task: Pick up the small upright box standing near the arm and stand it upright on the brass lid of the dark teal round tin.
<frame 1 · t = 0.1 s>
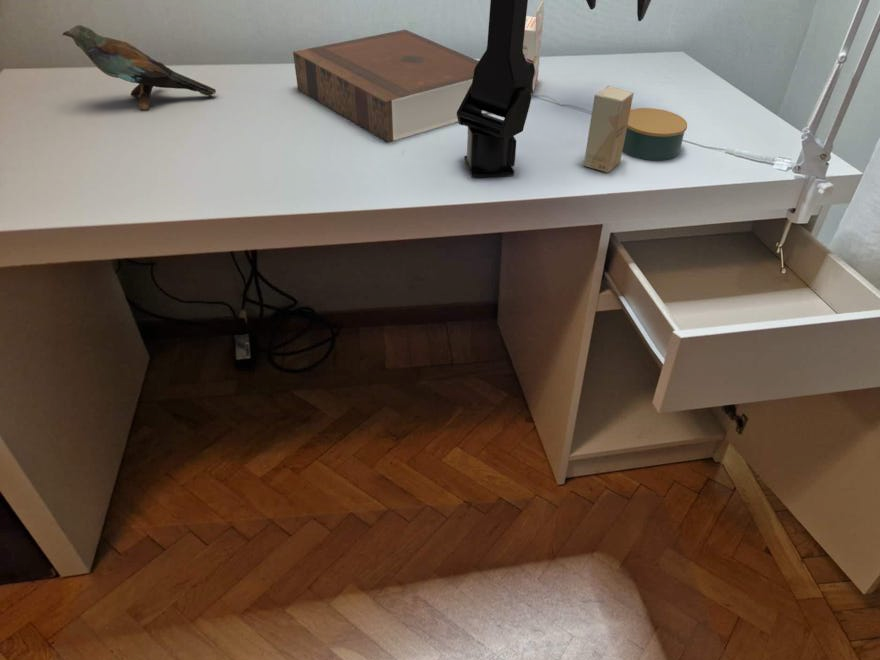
hand: (616, 14, 116), 15 cm above the table, tool pointing down, fingers open, 9 cm apart
tin: (648, 147, 113), on the table
book: (397, 100, 124), on the table
ink cartridge box: (521, 89, 131), on the table
bird figurine: (152, 100, 119), on the table
box: (601, 165, 107), on the table
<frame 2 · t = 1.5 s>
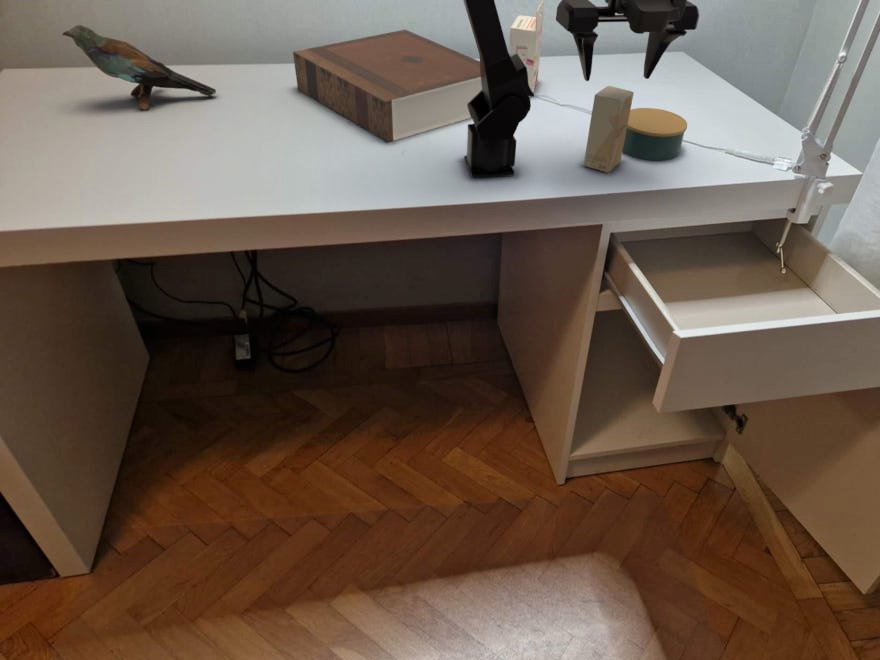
hand: (616, 79, 99), 13 cm above the table, tool pointing down, fingers open, 9 cm apart
nothing on the table moved.
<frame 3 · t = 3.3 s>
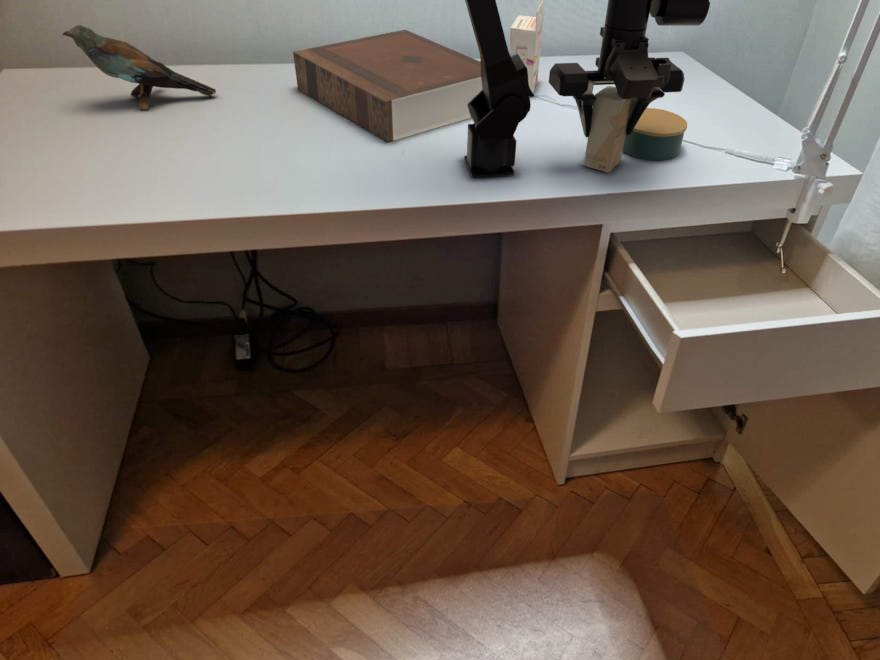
hand: (606, 135, 104), 5 cm above the table, tool pointing down, fingers closed on box, 6 cm apart
box: (601, 165, 107), on the table, touching gripper
everything else where it was.
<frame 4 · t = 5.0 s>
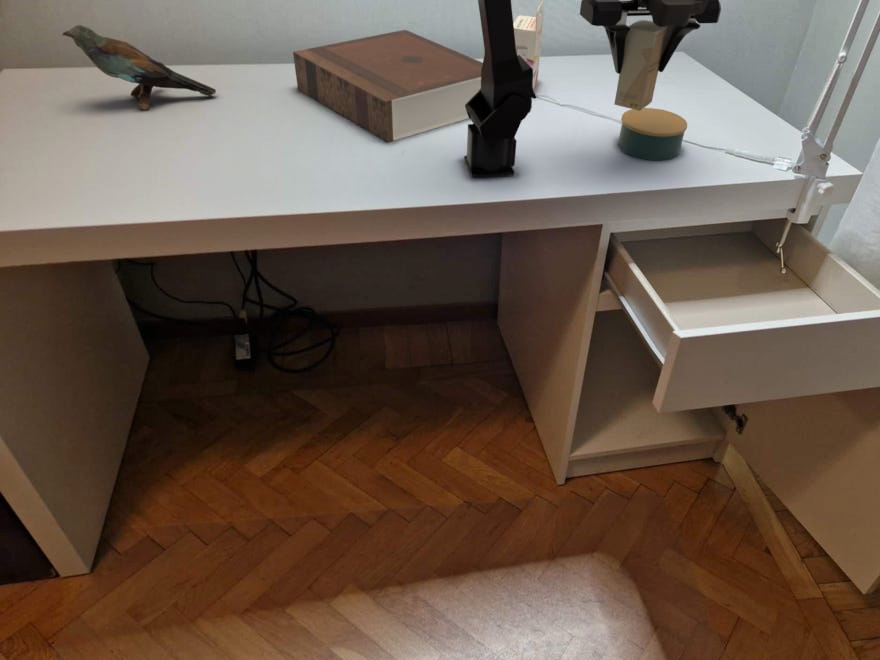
hand: (638, 72, 101), 13 cm above the table, tool pointing down, fingers closed on box, 6 cm apart
box: (632, 104, 104), point 8 cm above the table, touching gripper
everything else where it was.
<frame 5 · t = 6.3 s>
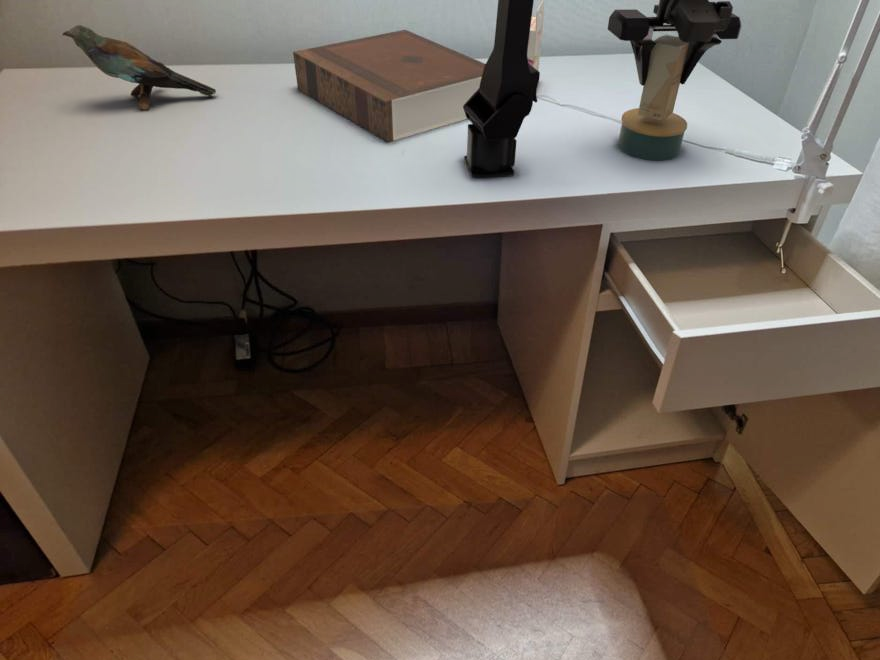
hand: (661, 84, 106), 10 cm above the table, tool pointing down, fingers closed on box, 6 cm apart
box: (655, 114, 109), point 5 cm above the table, touching gripper
everything else where it was.
when the fingers open (9 cm above the table, at t = 7.2 s): box stays where it is, resting on tin.
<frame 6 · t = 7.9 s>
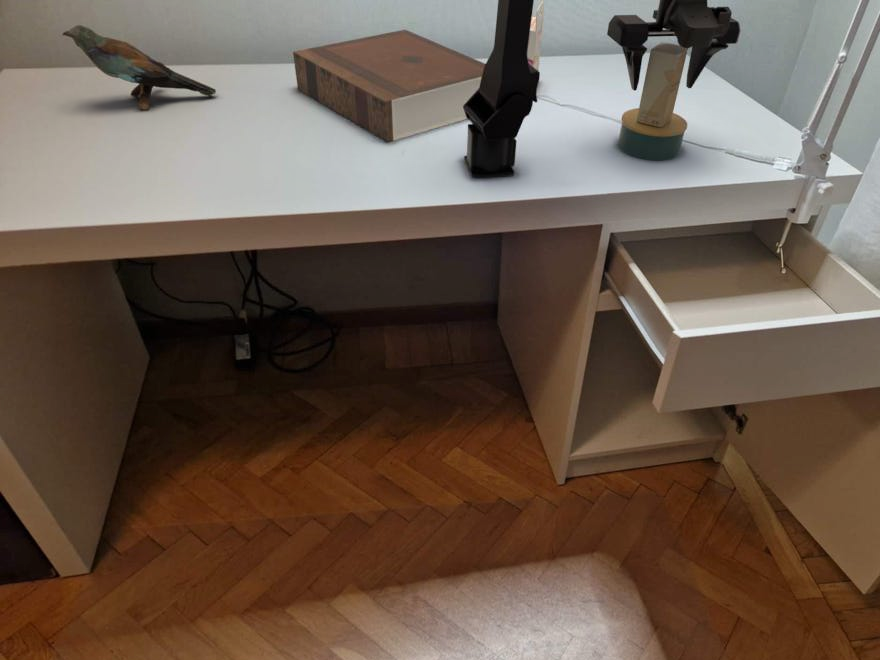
hand: (661, 88, 107), 10 cm above the table, tool pointing down, fingers open, 9 cm apart
tin: (648, 147, 113), on the table, touching box
box: (653, 121, 110), point 4 cm above the table, touching tin
everything else where it was.
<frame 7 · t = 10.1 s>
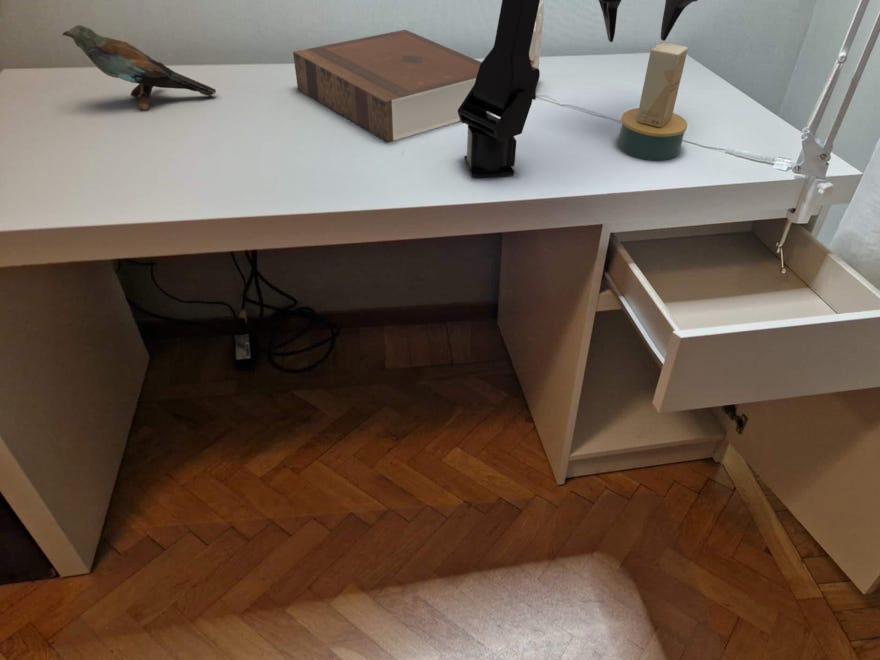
hand: (636, 40, 113), 13 cm above the table, tool pointing down, fingers open, 9 cm apart
nothing on the table moved.
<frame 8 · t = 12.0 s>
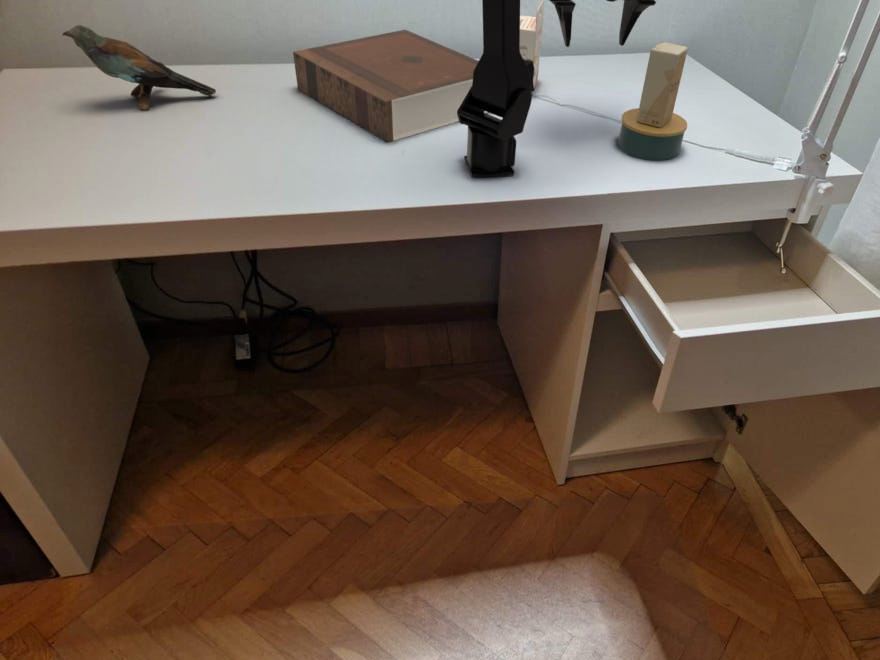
hand: (594, 45, 110), 13 cm above the table, tool pointing down, fingers open, 9 cm apart
nothing on the table moved.
at the end: box 0.1 cm off-centre on the tin, point 4.3 cm above the tin's base; box tilted 0°; the gripper is holding nothing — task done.
